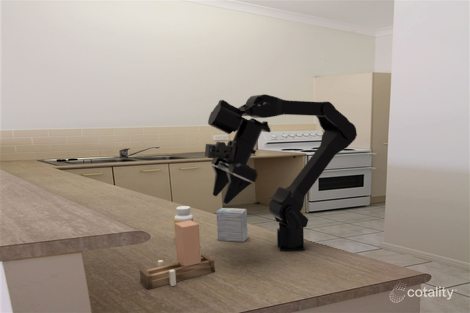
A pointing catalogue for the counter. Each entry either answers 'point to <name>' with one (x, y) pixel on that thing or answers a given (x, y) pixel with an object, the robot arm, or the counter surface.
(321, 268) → the counter surface
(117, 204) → the counter surface
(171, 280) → the pair of white blocks
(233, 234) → the medicine box
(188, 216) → the supplement bottle
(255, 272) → the counter surface
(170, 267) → the wooden tray
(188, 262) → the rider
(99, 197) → the counter surface
